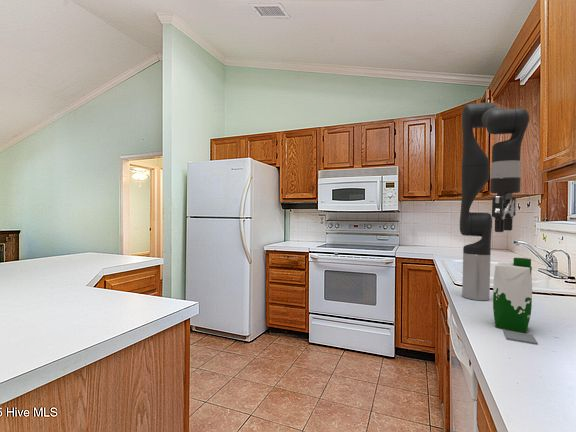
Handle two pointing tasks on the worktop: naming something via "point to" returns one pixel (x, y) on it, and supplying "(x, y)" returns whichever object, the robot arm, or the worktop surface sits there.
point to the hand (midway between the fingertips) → (503, 231)
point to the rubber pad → (520, 337)
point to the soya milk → (513, 295)
